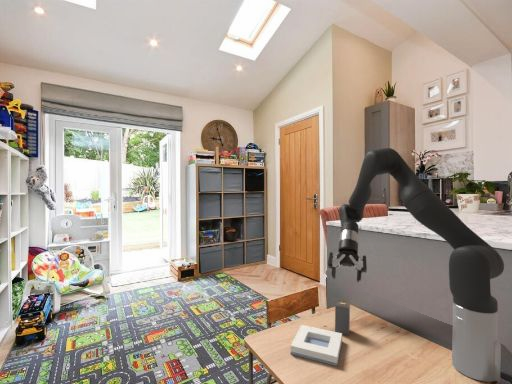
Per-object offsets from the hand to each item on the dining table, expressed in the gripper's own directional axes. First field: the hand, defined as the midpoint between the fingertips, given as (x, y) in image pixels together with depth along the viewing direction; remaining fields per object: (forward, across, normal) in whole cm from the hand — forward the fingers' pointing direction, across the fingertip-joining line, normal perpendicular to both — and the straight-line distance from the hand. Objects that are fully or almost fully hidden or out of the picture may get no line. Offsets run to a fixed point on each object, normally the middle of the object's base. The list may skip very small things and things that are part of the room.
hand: (345, 279), depth 100 cm
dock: (+27, -6, -7) cm, 29 cm away
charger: (+18, 0, +2) cm, 18 cm away
